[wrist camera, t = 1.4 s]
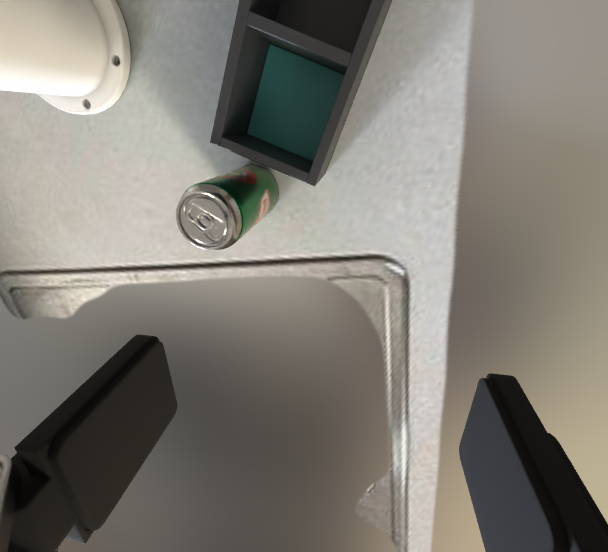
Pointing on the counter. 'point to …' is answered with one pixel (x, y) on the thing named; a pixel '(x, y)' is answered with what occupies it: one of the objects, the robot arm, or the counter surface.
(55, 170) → the counter surface
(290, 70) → the two-compartment grey tray
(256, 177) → the soda can
